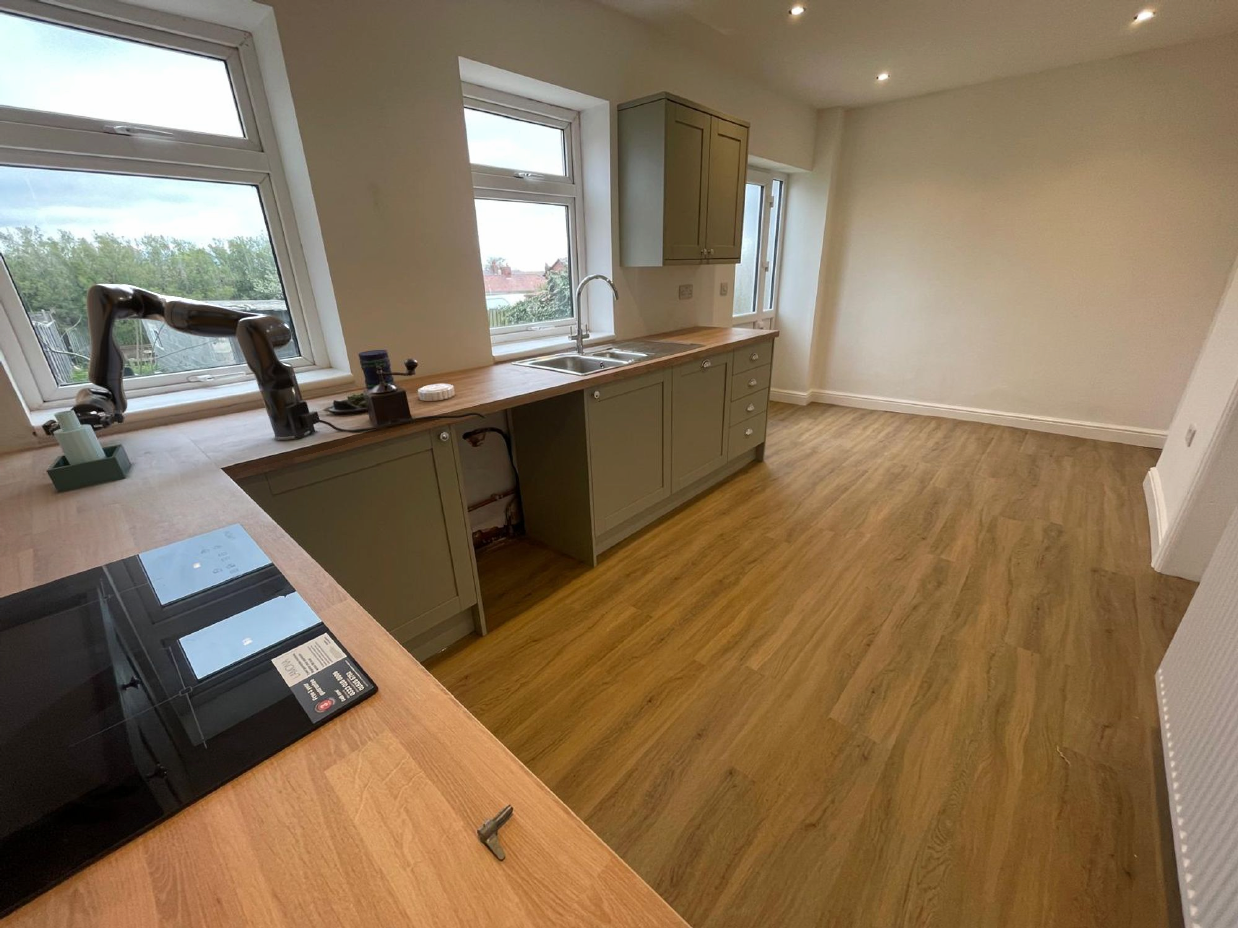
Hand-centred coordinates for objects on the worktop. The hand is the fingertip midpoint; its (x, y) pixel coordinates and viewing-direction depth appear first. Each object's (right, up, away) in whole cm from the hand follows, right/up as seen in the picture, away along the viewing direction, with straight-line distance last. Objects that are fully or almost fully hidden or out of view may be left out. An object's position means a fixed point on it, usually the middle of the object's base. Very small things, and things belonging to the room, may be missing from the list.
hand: (80, 428), depth 122 cm
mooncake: (+67, +15, +55) cm, 88 cm away
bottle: (+4, -11, 0) cm, 12 cm away
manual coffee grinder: (+63, +5, +34) cm, 72 cm away
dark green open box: (+4, -12, 0) cm, 13 cm away
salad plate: (+44, +10, +46) cm, 64 cm away
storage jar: (+43, +18, +64) cm, 79 cm away
